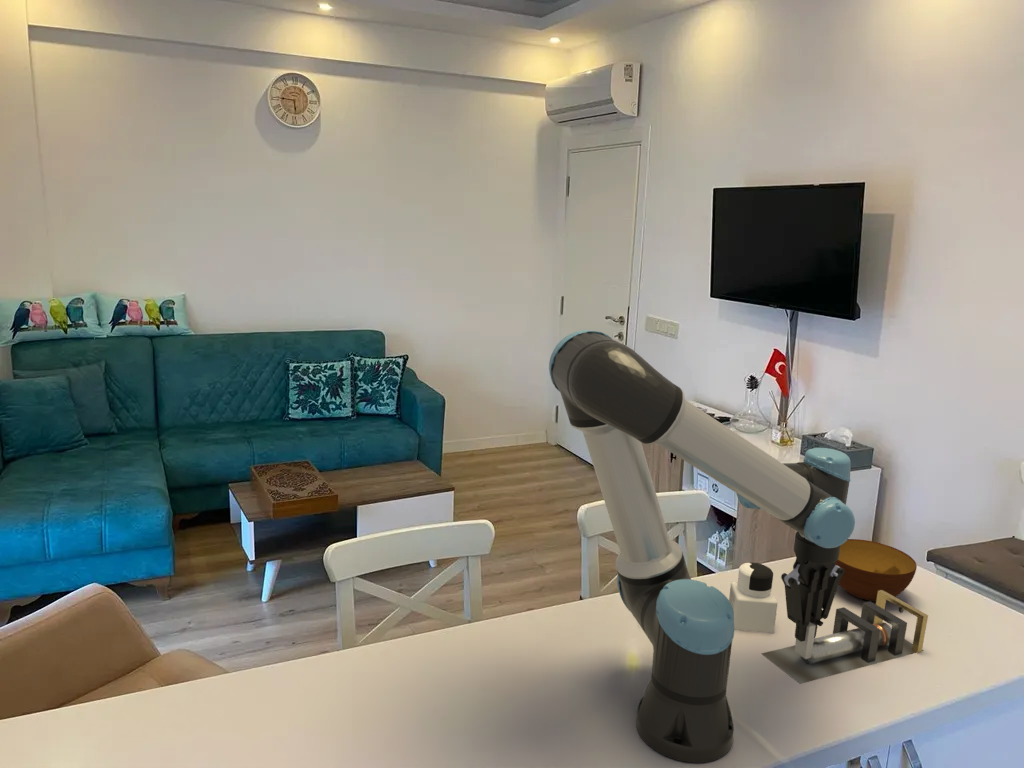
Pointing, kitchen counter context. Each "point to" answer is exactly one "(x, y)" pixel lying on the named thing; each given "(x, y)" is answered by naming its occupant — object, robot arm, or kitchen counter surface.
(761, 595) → the container
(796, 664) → the board
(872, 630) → the collar
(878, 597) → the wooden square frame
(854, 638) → the tube
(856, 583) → the bowl
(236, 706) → the kitchen counter surface
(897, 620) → the collar
